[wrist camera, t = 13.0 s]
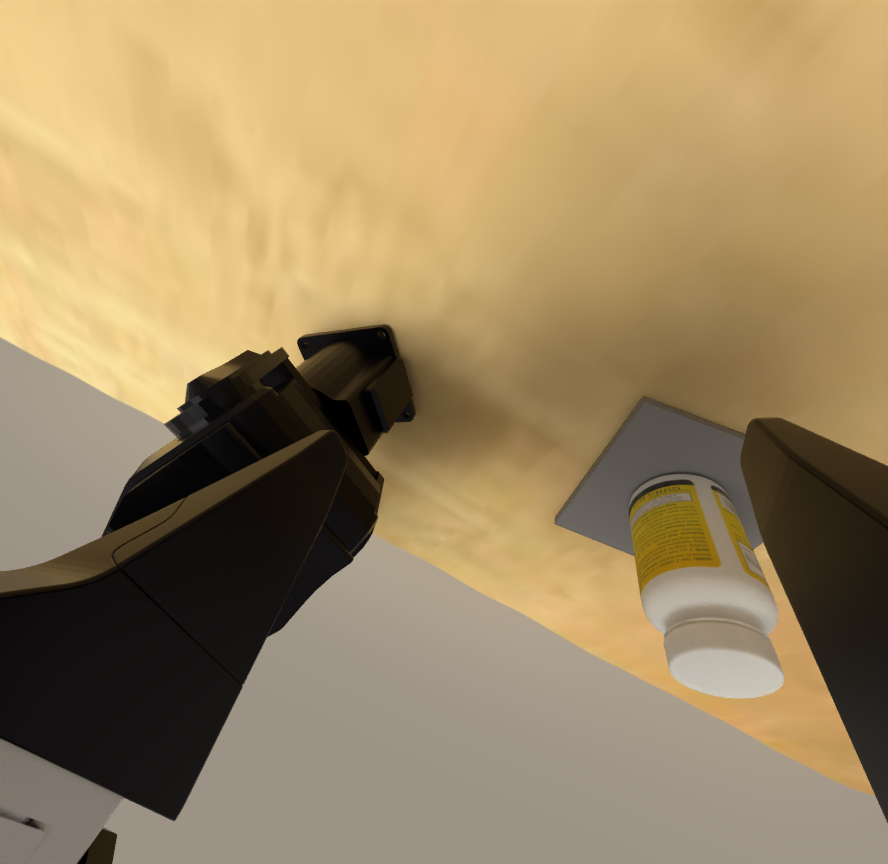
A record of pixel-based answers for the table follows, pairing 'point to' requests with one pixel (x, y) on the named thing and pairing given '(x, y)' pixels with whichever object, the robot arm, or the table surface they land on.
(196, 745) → the robot arm
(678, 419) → the mat
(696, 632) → the supplement bottle
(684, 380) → the table surface
